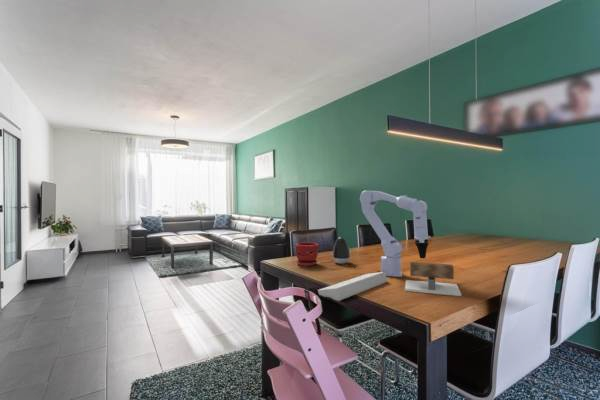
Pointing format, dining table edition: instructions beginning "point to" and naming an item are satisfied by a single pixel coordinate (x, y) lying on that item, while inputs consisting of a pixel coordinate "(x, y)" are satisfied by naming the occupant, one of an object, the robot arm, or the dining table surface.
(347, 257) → the dark grey rounded shape
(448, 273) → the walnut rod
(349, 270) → the dining table surface
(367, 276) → the decorative molding
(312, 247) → the plant pot
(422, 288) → the grey board
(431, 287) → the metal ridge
